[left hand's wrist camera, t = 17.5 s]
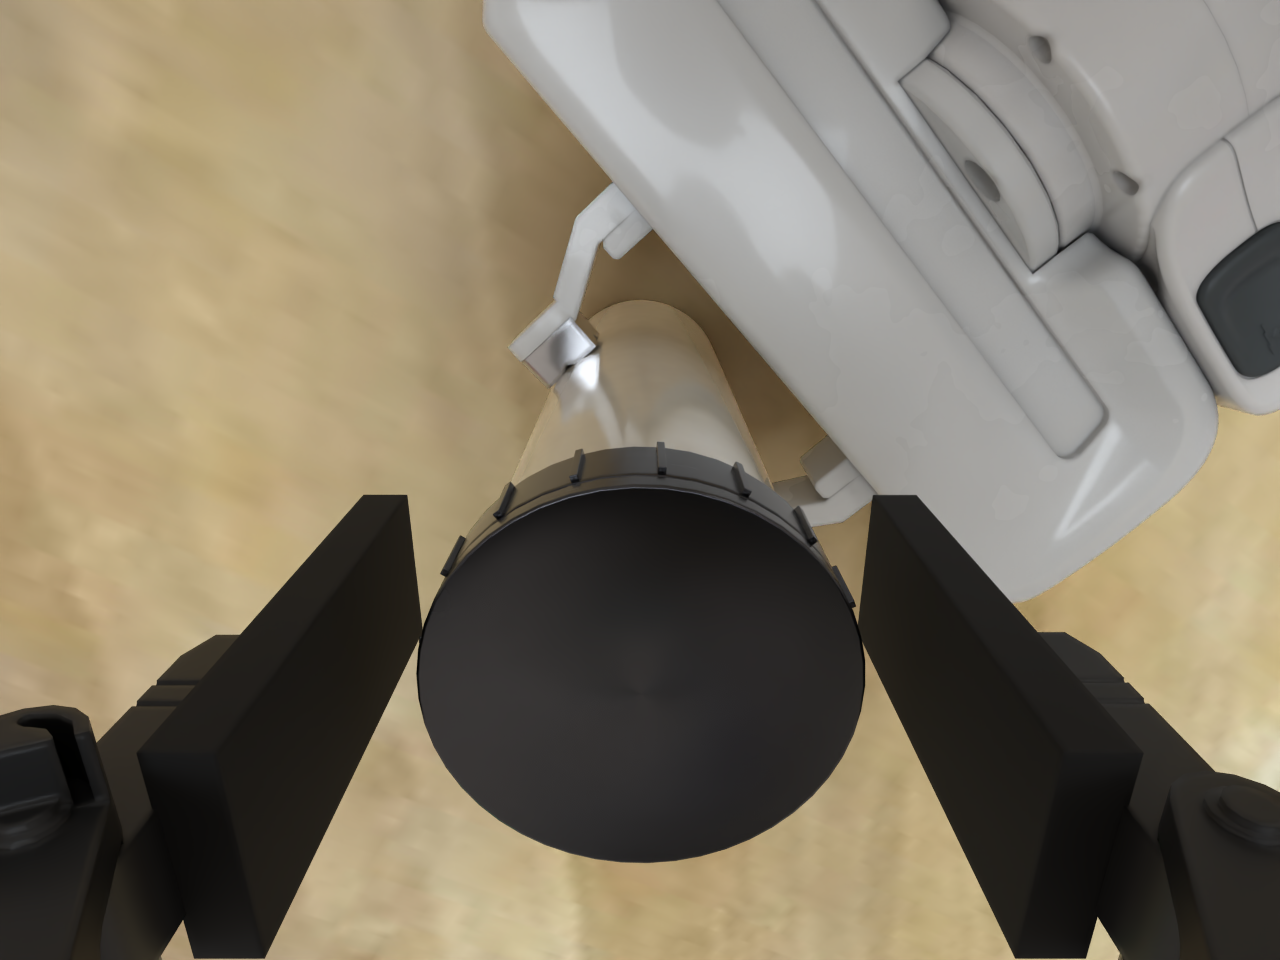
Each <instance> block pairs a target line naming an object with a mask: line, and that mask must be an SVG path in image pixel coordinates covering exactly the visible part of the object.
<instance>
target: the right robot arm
mask: <svg viewBox="0 0 1280 960" xmlns="http://www.w3.org/2000/svg"><path fill="white" fill-rule="evenodd" d="M482 22H483V27H484V29H485V31H486V33H487V34H488V35H489V36H490V38H491V39H492V40H493V41H494V42H495V44H496V45H497V46H498V47H499V48H500V49H501V51H502V52H503V53H504V54H505V55H506V57H507V58H508V59H509V60H510V61H511V62H512V64H513V65H514V66H515V67H516V68H517V70H518V71H519V72H520V73H521V74H522V75H523V77H524V78H525V79H526V80H527V81H528V82H529V84H530V85H531V86H532V87H533V88H534V90H535V91H536V92H537V93H538V94H539V95H540V97H541V98H542V99H543V100H544V101H545V102H546V104H547V105H548V106H549V107H550V108H551V110H552V111H553V112H554V113H555V114H556V115H557V117H558V118H559V119H560V120H561V121H562V123H563V124H564V125H565V126H566V127H567V128H568V130H569V131H570V132H571V133H572V134H573V135H574V137H575V138H576V139H577V140H578V141H579V143H580V144H581V145H582V146H583V147H584V148H585V150H586V151H587V152H588V153H589V154H590V155H591V157H592V158H593V159H594V160H595V161H596V163H597V164H598V165H599V166H600V167H601V168H602V170H603V171H604V172H605V173H606V174H607V176H608V177H609V178H610V179H611V180H612V181H613V182H612V183H611V184H610V185H609V186H608V187H607V188H606V189H605V190H604V191H603V192H602V193H601V194H599V195H598V196H597V197H596V198H595V199H594V200H593V201H592V202H591V203H590V204H589V205H588V206H587V207H586V208H585V209H584V210H583V211H582V212H581V213H580V214H579V215H578V216H577V217H576V219H575V222H574V226H573V229H572V233H571V236H570V240H569V243H568V247H567V250H566V254H565V257H564V261H563V264H562V268H561V271H560V275H559V278H558V282H557V285H556V289H555V292H554V296H553V298H554V299H555V300H554V301H553V302H552V303H551V304H550V305H549V306H548V307H547V308H546V309H545V310H543V311H542V312H541V313H540V314H539V315H538V316H537V317H536V318H535V319H534V320H533V321H532V322H531V323H530V324H529V325H528V326H527V327H525V329H524V330H523V331H522V332H521V333H520V334H519V335H518V336H517V337H516V338H515V339H514V340H513V341H512V342H511V344H510V345H509V346H508V347H507V348H508V349H509V350H510V351H511V352H512V353H513V355H514V356H515V357H516V358H517V359H518V360H519V361H520V362H521V363H522V364H523V365H524V366H525V367H526V368H527V369H528V370H529V371H530V372H531V373H532V374H533V375H534V376H535V377H536V378H537V379H538V380H539V381H540V382H541V383H542V384H543V385H544V386H545V387H546V388H547V389H548V388H550V387H551V386H553V385H554V384H555V383H556V382H558V380H559V379H560V378H561V377H562V376H563V375H564V374H565V371H566V369H567V366H568V365H571V364H576V363H577V362H578V361H580V360H581V359H583V358H584V357H585V356H586V355H587V354H588V353H590V352H591V351H592V350H593V349H594V348H595V347H596V345H597V342H598V341H597V339H598V338H599V332H598V331H597V330H596V329H595V328H594V327H593V326H592V324H591V323H590V322H589V321H588V320H587V319H586V318H585V316H584V315H583V314H582V313H581V312H580V309H581V306H582V303H583V300H584V296H585V293H586V290H587V286H588V283H589V280H590V277H591V273H592V270H593V267H594V264H595V260H596V257H597V254H598V251H599V247H600V244H601V242H602V241H603V248H604V249H605V250H606V251H607V252H608V253H609V255H610V256H611V257H612V258H613V259H620V258H621V257H622V256H624V255H625V254H626V253H627V252H628V251H629V250H630V249H631V248H632V247H634V246H635V245H636V244H637V243H638V242H639V241H640V240H641V239H642V238H643V237H645V236H646V235H647V234H648V233H649V232H650V231H651V230H652V229H653V230H654V231H655V232H656V233H657V234H658V236H659V237H660V238H661V239H662V240H663V241H664V243H665V244H666V245H667V246H668V247H669V249H670V250H671V251H672V252H673V253H674V254H675V256H676V257H677V258H678V259H679V260H680V261H681V263H682V264H683V265H684V266H685V267H686V269H687V270H688V271H689V272H690V273H691V274H692V276H693V277H694V278H695V279H696V280H697V281H698V283H699V284H700V285H701V286H702V287H703V289H704V290H705V291H706V292H707V293H708V294H709V296H710V297H711V298H712V299H713V300H714V302H715V303H716V304H717V305H718V306H719V307H720V309H721V310H722V311H723V312H724V313H725V314H726V316H727V317H728V318H729V319H730V320H731V322H732V323H733V324H734V325H735V326H736V327H737V329H738V330H739V331H740V332H741V333H742V334H743V336H744V337H745V338H746V339H747V340H748V342H749V343H750V344H751V345H752V346H753V347H754V349H755V350H756V351H757V352H758V353H759V355H760V356H761V357H762V358H763V359H764V360H765V362H766V363H767V364H768V365H769V366H770V367H771V369H772V370H773V371H774V372H775V373H776V375H777V376H778V377H779V378H780V379H781V380H782V382H783V383H784V384H785V385H786V386H787V387H788V389H789V390H790V391H791V392H792V393H793V395H794V396H795V397H796V398H797V399H798V400H799V402H800V403H801V404H802V405H803V406H804V408H805V409H806V410H807V411H808V412H809V413H810V415H811V416H812V417H813V418H814V419H815V420H816V422H817V423H818V424H819V425H820V426H821V428H822V429H823V430H824V431H825V432H826V433H827V436H826V437H825V438H824V439H822V440H821V441H820V442H819V443H817V444H816V445H815V446H814V447H813V448H811V449H810V450H809V451H808V452H807V453H805V454H804V455H803V456H802V457H801V459H800V463H801V465H802V467H803V468H804V470H805V472H806V474H807V475H806V476H802V477H797V478H793V479H788V480H784V481H779V482H775V483H772V485H773V487H774V490H775V492H776V493H777V494H778V495H779V496H781V497H782V498H783V499H784V500H786V501H787V502H788V503H789V505H790V506H791V507H792V508H793V509H795V508H796V507H797V506H800V507H801V508H802V509H803V511H804V513H805V515H806V517H807V519H808V521H809V523H810V525H811V527H816V526H822V525H828V524H835V523H841V522H844V521H845V520H846V519H848V518H849V517H850V516H852V515H853V514H854V513H856V512H857V511H858V510H860V509H861V508H862V507H864V506H865V505H866V504H868V503H869V502H870V501H872V497H873V495H917V496H918V497H919V498H920V499H921V501H922V502H923V503H924V504H925V505H926V506H927V507H928V509H929V510H930V511H931V512H932V513H933V514H934V515H935V516H936V518H937V519H938V520H939V521H940V522H941V523H942V524H943V526H944V527H945V528H946V529H947V530H948V531H949V532H950V534H951V535H952V536H953V537H954V538H955V539H956V540H957V541H958V543H959V544H960V545H961V546H962V547H963V548H964V549H965V551H966V552H967V553H968V554H969V555H970V556H971V557H972V558H973V560H974V561H975V562H976V563H977V564H978V565H979V566H980V568H981V569H982V570H983V571H984V572H985V573H986V574H987V575H988V577H989V578H990V579H991V580H992V581H993V582H994V583H995V585H996V586H997V587H998V588H999V589H1000V590H1001V591H1002V593H1003V594H1004V595H1005V596H1006V597H1007V598H1008V599H1009V600H1010V602H1011V603H1021V602H1025V601H1028V600H1030V599H1032V598H1035V597H1036V596H1038V595H1040V594H1042V593H1044V592H1045V591H1047V590H1049V589H1050V588H1052V587H1054V586H1055V585H1057V584H1058V583H1060V582H1061V581H1063V580H1064V579H1066V578H1067V577H1069V576H1070V575H1072V574H1073V573H1075V572H1076V571H1078V570H1079V569H1081V568H1082V567H1083V566H1085V565H1086V564H1088V563H1089V562H1090V561H1092V560H1093V559H1095V558H1096V557H1097V556H1099V555H1100V554H1102V553H1103V552H1104V551H1106V550H1107V549H1109V548H1110V547H1111V546H1113V545H1114V544H1115V543H1117V542H1118V541H1119V540H1121V539H1122V538H1123V537H1124V536H1126V535H1127V534H1128V533H1130V532H1131V531H1132V530H1134V529H1135V528H1136V527H1138V526H1139V525H1140V524H1141V523H1143V522H1144V521H1145V520H1146V519H1148V518H1149V517H1150V516H1151V515H1153V514H1154V513H1155V512H1156V511H1158V510H1159V509H1160V508H1161V507H1163V506H1164V505H1165V504H1166V503H1167V502H1168V501H1170V500H1171V499H1172V498H1173V497H1174V496H1175V495H1176V494H1177V493H1179V492H1180V491H1181V490H1182V489H1183V488H1184V487H1185V486H1186V485H1187V484H1188V483H1189V481H1190V480H1191V479H1192V478H1193V477H1194V476H1195V475H1196V473H1197V472H1198V471H1199V470H1200V468H1201V467H1202V466H1203V464H1204V463H1205V461H1206V459H1207V457H1208V456H1209V454H1210V452H1211V450H1212V448H1213V445H1214V442H1215V439H1216V436H1217V431H1218V424H1219V414H1218V408H1217V405H1218V406H1221V407H1225V408H1229V409H1232V410H1236V411H1240V412H1243V413H1248V414H1251V415H1267V414H1270V413H1273V412H1276V411H1278V410H1280V0H483V15H482Z"/></svg>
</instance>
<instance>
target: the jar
mask: <svg viewBox="0 0 1280 960" xmlns="http://www.w3.org/2000/svg"><path fill="white" fill-rule="evenodd" d="M588 321H589V322H590V323H591V324H592V326H593V327H594V328H595V329H596V330H597V331H598V332H599V338H598V339H597V341H598V342H597V345H596V347H595V348H594V349H593V350H592V351H591V352H590V353H588V354H587V355H586V356H585V357H584V358H583V359H581V360H580V361H578V362H577V363H576V364H571V365H568V366H567V369H566V371H565V374H564V375H563V376H562V377H561V378H560V379H559V380H558V382H556V383H555V384H554V385H553V386H552V387H551V390H550V392H549V394H548V397H547V399H546V401H545V404H544V406H543V408H542V410H541V413H540V415H539V417H538V420H537V422H536V424H535V427H534V429H533V431H532V434H531V436H530V438H529V440H528V443H527V445H526V447H525V450H524V452H523V454H522V457H521V459H520V461H519V464H518V466H517V468H516V471H515V473H514V475H513V477H512V480H511V483H512V484H513V485H514V486H516V485H517V484H518V483H520V482H521V481H523V480H524V479H526V478H527V477H529V476H531V475H533V474H535V473H537V472H539V471H540V470H542V469H544V468H546V467H548V466H550V465H552V464H555V463H558V462H561V461H563V460H566V459H569V458H572V457H574V454H575V450H578V449H583V451H584V454H586V453H591V452H595V451H599V450H604V449H613V448H623V447H656V445H657V442H665V448H669V449H676V450H682V451H689V452H693V453H696V454H700V455H703V456H707V457H710V458H714V459H717V460H719V461H722V462H724V463H726V464H729V465H731V466H733V465H734V463H735V462H739V463H741V464H742V465H743V468H744V471H745V472H746V473H747V474H749V475H751V476H752V477H754V478H756V479H757V480H759V481H761V482H762V483H764V484H766V485H767V486H768V487H769V488H771V489H772V490H773V491H774V492H775V490H774V487H773V485H772V483H771V481H770V478H769V476H768V474H767V471H766V469H765V467H764V464H763V462H762V460H761V457H760V455H759V453H758V451H757V448H756V446H755V444H754V441H753V439H752V437H751V434H750V432H749V430H748V427H747V425H746V423H745V421H744V418H743V416H742V414H741V411H740V409H739V407H738V404H737V402H736V400H735V397H734V395H733V393H732V391H731V388H730V386H729V384H728V381H727V379H726V377H725V374H724V372H723V370H722V367H721V365H720V363H719V360H718V358H717V356H716V354H715V351H714V349H713V347H712V344H711V342H710V340H709V339H708V337H707V335H706V334H705V332H704V331H703V330H702V329H701V327H700V326H699V325H698V324H697V323H696V322H695V321H694V320H693V319H692V318H690V317H689V316H688V315H686V314H685V313H684V312H682V311H680V310H678V309H677V308H675V307H672V306H670V305H667V304H665V303H661V302H657V301H650V300H631V301H625V302H621V303H618V304H614V305H612V306H609V307H607V308H605V309H603V310H601V311H600V312H598V313H597V314H595V315H594V316H593V317H591V318H590V319H589V320H588Z"/></svg>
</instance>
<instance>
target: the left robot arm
mask: <svg viewBox="0 0 1280 960" xmlns="http://www.w3.org/2000/svg"><path fill="white" fill-rule="evenodd" d="M858 627H859V630H860V634H861V638H862V642H863V644H864V646H865V648H866V650H867V652H868V654H869V656H870V659H871V661H872V663H873V665H874V667H875V669H876V671H877V673H878V675H879V677H880V679H881V681H882V683H883V685H884V688H885V690H886V692H887V694H888V696H889V698H890V700H891V702H892V704H893V706H894V708H895V710H896V712H897V714H898V717H899V719H900V721H901V723H902V725H903V727H904V729H905V731H906V733H907V735H908V737H909V739H910V741H911V743H912V746H913V748H914V750H915V752H916V754H917V756H918V758H919V760H920V762H921V764H922V766H923V768H924V770H925V772H926V775H927V777H928V779H929V781H930V783H931V785H932V787H933V789H934V791H935V793H936V795H937V797H938V799H939V801H940V804H941V806H942V808H943V810H944V812H945V814H946V816H947V818H948V820H949V822H950V824H951V826H952V828H953V830H954V833H955V835H956V837H957V839H958V841H959V843H960V845H961V847H962V849H963V851H964V853H965V855H966V857H967V859H968V862H969V864H970V866H971V868H972V870H973V872H974V874H975V876H976V878H977V880H978V882H979V884H980V886H981V888H982V890H983V893H984V895H985V897H986V899H987V901H988V903H989V905H990V907H991V909H992V911H993V913H994V915H995V917H996V919H997V922H998V924H999V926H1000V928H1001V930H1002V932H1003V934H1004V936H1005V938H1006V940H1007V942H1008V944H1009V946H1010V948H1011V951H1012V953H1013V955H1014V957H1015V959H1086V956H1087V953H1088V949H1089V945H1090V942H1091V938H1092V935H1093V931H1094V928H1095V924H1096V921H1097V917H1098V918H1099V920H1100V921H1101V923H1102V924H1103V926H1104V928H1105V929H1106V931H1107V932H1108V934H1109V936H1110V937H1111V939H1112V941H1113V942H1114V944H1115V945H1116V947H1117V949H1118V950H1119V952H1120V955H1119V958H1118V960H1280V792H1278V791H1276V790H1274V789H1272V788H1270V787H1268V786H1266V785H1264V784H1261V783H1258V782H1255V781H1252V780H1249V779H1246V778H1243V777H1240V776H1237V775H1233V774H1226V773H1219V772H1215V771H1214V770H1213V769H1212V768H1211V767H1210V766H1209V765H1208V764H1207V763H1206V762H1205V761H1204V760H1203V759H1202V758H1201V757H1200V755H1199V754H1198V753H1197V752H1196V751H1195V750H1194V749H1193V748H1192V747H1191V746H1190V745H1189V744H1188V743H1187V742H1186V741H1185V740H1184V739H1183V738H1182V737H1181V736H1180V735H1179V734H1178V733H1177V732H1176V731H1175V730H1174V729H1173V728H1172V727H1171V726H1170V725H1169V724H1168V723H1167V722H1166V721H1165V720H1164V719H1163V718H1162V716H1161V715H1160V714H1159V713H1158V712H1157V711H1156V710H1155V709H1154V708H1153V707H1152V706H1151V705H1150V704H1145V703H1144V698H1143V697H1142V696H1141V695H1140V694H1139V693H1138V692H1137V691H1136V690H1135V689H1134V688H1133V687H1132V686H1131V685H1130V684H1129V683H1125V682H1124V677H1123V676H1122V675H1121V674H1120V673H1119V672H1118V671H1117V670H1116V669H1115V668H1114V667H1113V666H1112V665H1111V664H1110V663H1109V662H1108V661H1107V660H1106V659H1105V658H1104V657H1103V656H1102V655H1101V654H1100V653H1099V652H1097V651H1095V650H1094V649H1092V648H1090V647H1089V646H1087V645H1085V644H1083V643H1082V642H1080V641H1078V640H1077V639H1075V638H1073V637H1072V636H1070V635H1068V634H1067V633H1065V632H1037V631H1036V630H1035V629H1034V628H1033V627H1032V625H1031V624H1030V623H1029V622H1028V621H1027V620H1026V619H1025V617H1024V616H1023V615H1022V614H1021V613H1020V612H1019V611H1018V610H1017V608H1016V607H1015V606H1014V605H1013V604H1012V603H1011V602H1010V600H1009V599H1008V598H1007V597H1006V596H1005V595H1004V594H1003V593H1002V591H1001V590H1000V589H999V588H998V587H997V586H996V585H995V583H994V582H993V581H992V580H991V579H990V578H989V577H988V575H987V574H986V573H985V572H984V571H983V570H982V569H981V568H980V566H979V565H978V564H977V563H976V562H975V561H974V560H973V558H972V557H971V556H970V555H969V554H968V553H967V552H966V551H965V549H964V548H963V547H962V546H961V545H960V544H959V543H958V541H957V540H956V539H955V538H954V537H953V536H952V535H951V534H950V532H949V531H948V530H947V529H946V528H945V527H944V526H943V524H942V523H941V522H940V521H939V520H938V519H937V518H936V516H935V515H934V514H933V513H932V512H931V511H930V510H929V509H928V507H927V506H926V505H925V504H924V503H923V502H922V501H921V499H920V498H919V497H918V496H917V495H873V497H872V506H871V515H870V524H869V532H868V541H867V550H866V559H865V567H864V576H863V585H862V594H861V603H860V611H859V620H858ZM422 631H423V629H422V620H421V611H420V603H419V594H418V585H417V576H416V567H415V559H414V550H413V541H412V532H411V524H410V515H409V506H408V497H407V495H363V496H362V497H361V498H360V499H359V501H358V502H357V503H356V504H355V505H354V506H353V507H352V509H351V510H350V511H349V512H348V513H347V514H346V515H345V516H344V518H343V519H342V520H341V521H340V522H339V523H338V524H337V526H336V527H335V528H334V529H333V530H332V531H331V532H330V534H329V535H328V536H327V537H326V538H325V539H324V540H323V541H322V543H321V544H320V545H319V546H318V547H317V548H316V549H315V551H314V552H313V553H312V554H311V555H310V556H309V557H308V558H307V560H306V561H305V562H304V563H303V564H302V565H301V566H300V568H299V569H298V570H297V571H296V572H295V573H294V574H293V575H292V577H291V578H290V579H289V580H288V581H287V582H286V583H285V585H284V586H283V587H282V588H281V589H280V590H279V591H278V593H277V594H276V595H275V596H274V597H273V598H272V599H271V600H270V602H269V603H268V604H267V605H266V606H265V607H264V608H263V610H262V611H261V612H260V613H259V614H258V615H257V616H256V617H255V619H254V620H253V621H252V622H251V623H250V624H249V625H248V627H247V628H246V629H245V630H244V631H243V632H242V633H241V634H240V635H215V636H213V637H212V638H210V639H208V640H207V641H205V642H203V643H202V644H200V645H198V646H197V647H195V648H193V649H192V650H190V651H188V652H186V653H185V654H183V655H181V656H180V657H179V658H178V659H177V660H176V661H175V662H174V663H173V664H172V665H171V667H170V668H169V669H168V670H167V671H166V672H165V673H164V674H163V675H162V676H161V677H160V678H159V679H158V680H157V685H152V686H151V687H150V688H149V689H148V690H147V691H146V692H145V693H144V694H143V695H142V696H141V698H140V699H139V700H138V701H137V706H136V707H131V708H130V709H129V710H128V711H127V712H126V713H125V714H124V715H123V716H122V717H121V718H120V719H119V720H118V721H117V722H116V723H115V724H114V725H113V726H112V727H111V729H110V730H109V731H108V732H107V733H106V734H105V735H104V736H103V737H102V738H101V739H100V740H99V741H98V742H97V743H96V740H95V737H94V734H93V730H92V727H91V724H90V720H89V717H88V716H86V715H85V714H84V713H82V712H81V711H79V710H78V709H76V708H72V707H64V706H56V705H51V706H42V707H34V708H26V709H21V710H18V711H14V712H11V713H7V714H4V715H1V716H0V960H162V958H161V955H162V953H163V951H164V950H165V948H166V946H167V945H168V943H169V942H170V940H171V938H172V937H173V935H174V934H175V932H176V930H177V929H178V927H179V925H180V924H181V922H182V921H184V924H185V928H186V931H187V935H188V938H189V942H190V945H191V949H192V953H193V956H194V959H265V957H266V955H267V953H268V951H269V948H270V946H271V944H272V942H273V940H274V938H275V936H276V934H277V932H278V930H279V928H280V926H281V924H282V922H283V919H284V917H285V915H286V913H287V911H288V909H289V907H290V905H291V903H292V901H293V899H294V897H295V895H296V893H297V890H298V888H299V886H300V884H301V882H302V880H303V878H304V876H305V874H306V872H307V870H308V868H309V866H310V864H311V862H312V859H313V857H314V855H315V853H316V851H317V849H318V847H319V845H320V843H321V841H322V839H323V837H324V835H325V833H326V830H327V828H328V826H329V824H330V822H331V820H332V818H333V816H334V814H335V812H336V810H337V808H338V806H339V804H340V801H341V799H342V797H343V795H344V793H345V791H346V789H347V787H348V785H349V783H350V781H351V779H352V777H353V775H354V772H355V770H356V768H357V766H358V764H359V762H360V760H361V758H362V756H363V754H364V752H365V750H366V748H367V746H368V743H369V741H370V739H371V737H372V735H373V733H374V731H375V729H376V727H377V725H378V723H379V721H380V719H381V717H382V714H383V712H384V710H385V708H386V706H387V704H388V702H389V700H390V698H391V696H392V694H393V692H394V690H395V688H396V685H397V683H398V681H399V679H400V677H401V675H402V673H403V671H404V669H405V667H406V665H407V663H408V661H409V659H410V656H411V654H412V652H413V650H414V648H415V646H416V644H417V642H418V640H419V637H420V635H421V633H422Z"/></svg>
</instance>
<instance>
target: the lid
mask: <svg viewBox="0 0 1280 960" xmlns="http://www.w3.org/2000/svg"><path fill="white" fill-rule="evenodd" d="M440 574H441V575H443V576H445V578H444V580H443V582H442V584H441V587H440V589H439V590H438V592H437V594H436V596H435V598H434V601H433V603H432V606H431V608H430V611H429V613H428V615H427V618H426V620H425V623H424V626H423V631H422V633H421V635H420V637H419V643H420V644H419V648H418V659H417V673H416V674H417V686H418V698H419V702H420V707H421V711H422V715H423V719H424V723H425V726H426V728H427V731H428V733H429V736H430V738H431V741H432V743H433V746H434V748H435V749H436V751H437V753H438V754H439V756H440V758H441V760H442V761H443V763H444V765H445V767H446V768H447V769H448V771H449V772H450V773H451V775H452V776H453V777H454V778H455V780H456V781H457V782H458V784H459V785H460V786H461V787H462V788H463V789H464V790H465V791H466V792H467V793H468V794H469V795H470V796H471V797H472V798H473V799H474V800H475V801H476V802H477V803H478V804H479V805H480V806H481V807H482V808H484V809H485V810H486V811H488V812H489V813H490V814H491V815H493V816H494V817H495V818H497V819H498V820H499V821H501V822H503V823H504V824H506V825H507V826H509V827H511V828H512V829H514V830H516V831H517V832H519V833H521V834H523V835H525V836H527V837H529V838H531V839H533V840H536V841H538V842H540V843H542V844H544V845H547V846H550V847H553V848H556V849H559V850H562V851H565V852H567V853H571V854H575V855H580V856H584V857H588V858H593V859H599V860H607V861H615V862H628V863H654V862H667V861H677V860H683V859H688V858H694V857H699V856H703V855H707V854H710V853H714V852H717V851H721V850H724V849H727V848H730V847H732V846H735V845H737V844H740V843H742V842H745V841H747V840H750V839H751V838H753V837H755V836H757V835H759V834H761V833H763V832H765V831H766V830H768V829H770V828H772V827H774V826H775V825H776V824H778V823H779V822H781V821H782V820H784V819H785V818H787V817H788V816H789V815H791V814H792V813H794V812H795V811H796V810H797V809H798V808H799V807H801V806H802V805H803V804H804V803H805V802H806V801H807V800H808V799H810V798H811V797H812V796H813V795H814V794H815V793H816V791H817V790H818V789H819V788H820V787H821V786H822V785H823V783H824V782H825V781H826V780H827V779H828V778H829V776H830V775H831V773H832V772H833V771H834V769H835V768H836V766H837V765H838V763H839V762H840V760H841V759H842V757H843V755H844V753H845V751H846V749H847V747H848V745H849V743H850V741H851V739H852V737H853V735H854V731H855V728H856V725H857V722H858V719H859V716H860V712H861V708H862V702H863V695H864V689H865V657H864V650H863V644H862V638H861V634H860V630H859V627H858V624H857V621H856V618H855V615H854V612H853V610H852V608H853V607H856V605H855V602H854V599H853V597H852V595H851V594H850V592H849V590H848V588H847V586H846V584H845V582H844V580H843V578H842V576H841V574H840V572H839V570H838V568H837V566H833V567H831V565H830V563H829V561H828V559H827V557H826V555H825V553H824V551H823V549H822V547H821V545H820V543H819V541H818V539H817V537H816V535H815V533H814V531H813V529H812V527H811V525H810V523H809V521H808V519H807V517H806V515H805V513H804V511H803V509H802V508H801V507H800V506H797V507H796V508H795V509H793V508H792V507H791V506H790V505H789V503H788V502H787V501H786V500H784V499H783V498H782V497H781V496H779V495H778V494H777V493H776V492H774V491H773V490H772V489H771V488H769V487H768V486H767V485H766V484H764V483H762V482H761V481H759V480H757V479H756V478H754V477H752V476H751V475H749V474H747V473H746V472H745V471H744V468H743V465H742V464H741V463H739V462H735V463H734V465H733V466H731V465H729V464H726V463H724V462H722V461H719V460H717V459H714V458H710V457H707V456H703V455H700V454H696V453H693V452H689V451H682V450H676V449H669V448H665V442H657V445H656V447H623V448H613V449H604V450H599V451H595V452H591V453H586V454H584V451H583V449H578V450H575V454H574V457H572V458H569V459H566V460H563V461H561V462H558V463H555V464H552V465H550V466H548V467H546V468H544V469H542V470H540V471H539V472H537V473H535V474H533V475H531V476H529V477H527V478H526V479H524V480H523V481H521V482H520V483H518V484H517V485H516V486H514V485H513V484H512V483H511V482H509V483H508V484H507V485H505V487H504V490H503V492H502V494H501V496H500V498H499V499H498V500H497V501H496V502H495V503H494V504H493V505H491V506H490V507H489V508H488V509H487V510H486V511H485V513H484V514H483V515H482V516H481V517H480V519H479V520H478V521H477V522H476V524H475V525H474V526H473V527H472V529H471V530H470V532H469V533H468V535H467V537H466V538H464V537H462V536H459V538H458V540H457V542H456V544H455V546H454V548H453V550H452V551H451V553H450V555H449V557H448V559H447V561H446V563H445V565H444V567H443V569H442V571H441V573H440Z"/></svg>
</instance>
